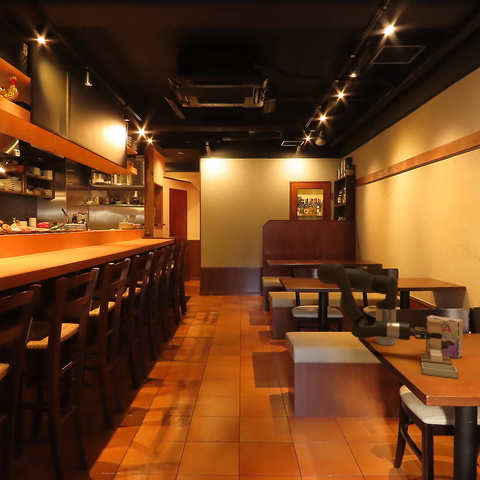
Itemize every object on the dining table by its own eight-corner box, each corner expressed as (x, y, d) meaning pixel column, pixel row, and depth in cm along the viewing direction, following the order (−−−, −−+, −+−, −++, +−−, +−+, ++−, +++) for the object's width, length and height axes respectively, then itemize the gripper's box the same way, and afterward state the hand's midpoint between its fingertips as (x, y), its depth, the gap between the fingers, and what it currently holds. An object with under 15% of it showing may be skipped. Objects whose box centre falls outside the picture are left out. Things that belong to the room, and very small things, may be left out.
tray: (421, 368, 160) (421, 362, 160) (455, 372, 155) (455, 365, 155) (422, 374, 153) (422, 367, 153) (457, 378, 148) (457, 372, 148)
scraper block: (427, 348, 174) (427, 318, 174) (439, 349, 172) (440, 319, 172) (427, 351, 170) (428, 320, 169) (440, 352, 168) (441, 322, 168)
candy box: (425, 352, 182) (425, 316, 181) (430, 350, 186) (430, 314, 185) (458, 359, 172) (458, 321, 171) (462, 356, 176) (463, 319, 176)
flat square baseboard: (420, 360, 170) (420, 353, 170) (449, 363, 166) (449, 356, 166) (421, 367, 160) (421, 360, 160) (452, 371, 156) (452, 364, 156)
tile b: (430, 358, 163) (430, 352, 163) (441, 359, 162) (441, 353, 162) (431, 361, 159) (431, 355, 159) (442, 362, 158) (442, 356, 158)
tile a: (429, 355, 167) (429, 349, 167) (440, 356, 166) (440, 350, 166) (430, 358, 164) (430, 351, 164) (441, 359, 162) (441, 353, 162)
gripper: (398, 325, 170) (442, 329, 163) (398, 319, 183) (440, 322, 176) (397, 342, 170) (442, 347, 163) (398, 335, 183) (439, 339, 176)
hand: (440, 334), depth 170 cm, fingers closed on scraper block, 5 cm apart
